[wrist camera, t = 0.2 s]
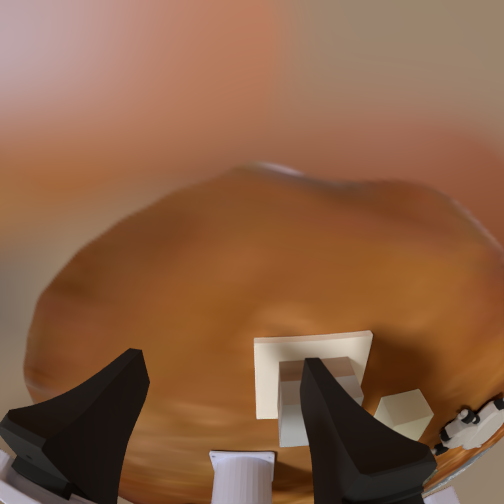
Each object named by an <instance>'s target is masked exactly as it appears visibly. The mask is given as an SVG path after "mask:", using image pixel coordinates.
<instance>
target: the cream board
mask: <svg viewBox="0 0 504 504" xmlns="http://www.w3.org/2000/svg"><path fill="white" fill-rule="evenodd" d="M372 338H373V334H372V333H371V331H370V330H368V331H358V332H348V333H337V334H325V335H310V336H292V337H266V338H254V357H255V385H256V412H257V419H275V418H278V411H277V399H278V370H279V361H299V360H305V358H315V357H319V358H320V359H325V358H336V357H346V356H348V358H349V360H350V363H351V365H352V367H353V370H354V372H355V375H356V377H357V380H358V382H359V385H360V386H361V382H362V379H363V375H364V371H365V367H366V363H367V359H368V355H369V351H370V347H371V343H372Z"/></svg>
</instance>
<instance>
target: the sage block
mask: <svg viewBox="0 0 504 504" xmlns="http://www.w3.org/2000/svg"><path fill="white" fill-rule="evenodd" d="M433 415H434V414H433V412H432V410H431V408H430V407H429V405H428V403H427V401H426V400H425V398H424V396H423V395H422V393H421V391H420V390H419V389H416V390H412V391H408V392H403V393H399V394H395V395H390V396H385V397H381V400H380V403H379V405H378V408H377V410H376V413H375V415H374V418H376V419H377V420H379V421H380V422H382V423H383V424H385V425H386V426H388V427H389V428H391V429H393V430H394V431H396V432H398V433H400V434H402V435H404V436H406V437H408V438H410V439H412V440H415V441H418V440H419V438H420V437H421V435H422V434H423V432H424V430H425V429H426V427H427V425H428V424H429V422H430V420H431V419H432V417H433Z"/></svg>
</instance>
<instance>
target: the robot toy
mask: <svg viewBox="0 0 504 504" xmlns="http://www.w3.org/2000/svg"><path fill="white" fill-rule="evenodd" d="M503 422H504V398H501V399H497V400H495V401H491V402H489V403H487V404H486V405H485V406H484V407H483V408H482V409H481V410H480V411H479V412H478V413H477V414H475V415H474V413H473V412H472V411H471V410H469V409H464V410H463V411H462V412H461V414H460V413H459V414H458V415H457V417H456V418H455V419H454V420H453V421H452V422H451V423H450V424H448V425H447V426H446V427H445V430H443V431H442V432H441V434H440V435H439V437H440V439H441V441H442V443H439V444H437V445H435V446H434V449H431V451H432V453H433V455H434V454H436V456H438V455H440V454H442V453H444V452H446V451H447V450H448V449H449V448H452V449H453V448H456V447H458V446H461V445H462V447H463V448H464V449H467V450H468V449H471V448H474V447H481V444H483V443H484V442H485V441H487V440H488V439H489V438H490V437H491V436H492V435H493V434H494V433H495V432H496V431H497V430H498V429H499V428H500V426H501V425H502V424H503Z"/></svg>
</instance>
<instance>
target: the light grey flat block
mask: <svg viewBox="0 0 504 504" xmlns="http://www.w3.org/2000/svg"><path fill="white" fill-rule="evenodd" d="M335 379H336V380H337V382H338V383H339V384H340V385H341V386H342V387H343V388H344V390H345V391H346V392H347V393H348V394H349V395H350V396H351V397H352V398H353V399H354V400H355V401H356V402H357V403H358V404H359V405H360V406H361V405H362V401H363V398H364V395H363V392H362V390H361V387H360V385H359V382H358V380H357V377H356V375H351V376H343V377H335ZM300 384H301V381H285V382H281V387H280V409H279V440H280V447H292V446H304V445H309V443H308V438H307V434H306V429H305V425H304V420H303V416H302V411H301V403H300V391H299V390H300Z"/></svg>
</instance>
